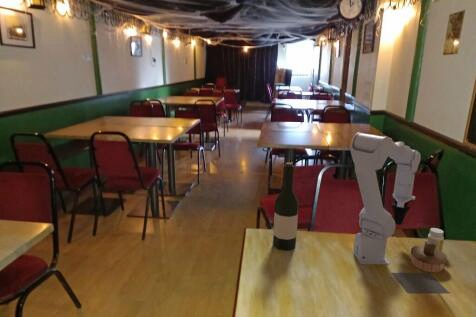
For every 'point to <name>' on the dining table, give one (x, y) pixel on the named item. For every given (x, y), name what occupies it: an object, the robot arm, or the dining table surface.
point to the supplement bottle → (436, 238)
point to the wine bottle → (286, 213)
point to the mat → (419, 283)
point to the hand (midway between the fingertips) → (398, 219)
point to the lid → (428, 254)
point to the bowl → (426, 265)
